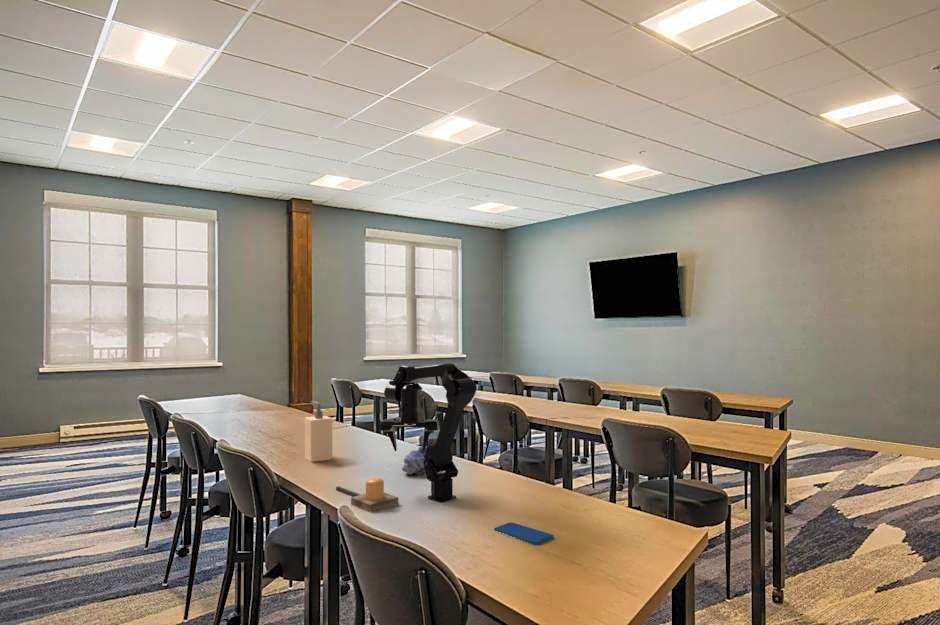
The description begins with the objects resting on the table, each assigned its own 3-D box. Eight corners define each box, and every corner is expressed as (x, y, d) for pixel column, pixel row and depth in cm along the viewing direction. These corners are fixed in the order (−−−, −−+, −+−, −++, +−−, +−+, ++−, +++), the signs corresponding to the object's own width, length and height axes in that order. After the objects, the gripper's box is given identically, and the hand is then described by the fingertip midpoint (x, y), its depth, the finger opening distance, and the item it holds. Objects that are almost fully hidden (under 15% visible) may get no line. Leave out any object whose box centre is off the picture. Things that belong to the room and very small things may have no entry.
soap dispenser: (332, 459, 229) (332, 403, 229) (310, 462, 225) (310, 405, 225) (322, 453, 240) (322, 400, 240) (302, 455, 236) (302, 401, 236)
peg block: (398, 504, 172) (398, 483, 173) (370, 511, 165) (370, 490, 166) (378, 496, 180) (378, 477, 180) (351, 504, 173) (351, 484, 173)
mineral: (426, 442, 218) (440, 445, 210) (429, 467, 218) (444, 471, 210) (392, 451, 209) (405, 455, 201) (396, 477, 209) (409, 482, 201)
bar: (366, 500, 176) (366, 496, 176) (363, 500, 176) (363, 497, 176) (338, 489, 188) (338, 486, 188) (336, 489, 187) (336, 486, 187)
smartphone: (510, 521, 156) (555, 535, 145) (511, 525, 156) (555, 539, 145) (491, 528, 151) (536, 543, 140) (492, 532, 151) (536, 547, 140)
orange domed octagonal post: (386, 497, 173) (386, 480, 173) (372, 501, 169) (372, 483, 169) (376, 493, 176) (376, 477, 176) (363, 497, 173) (363, 480, 173)
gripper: (439, 400, 198) (439, 445, 197) (385, 400, 198) (385, 445, 198) (437, 404, 187) (437, 453, 186) (379, 404, 187) (379, 453, 187)
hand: (409, 451), depth 190 cm, fingers open, 9 cm apart
